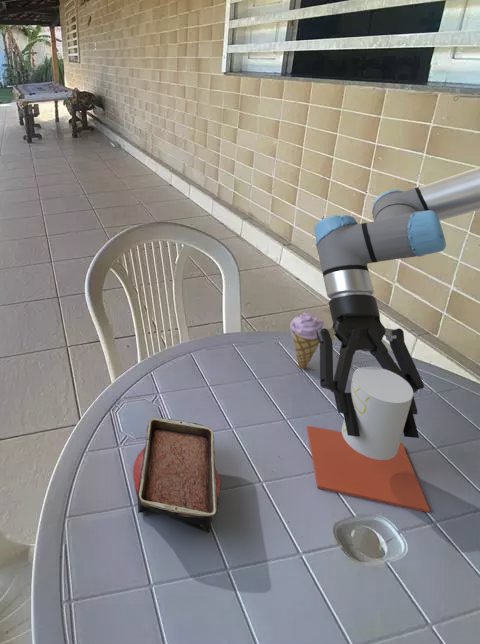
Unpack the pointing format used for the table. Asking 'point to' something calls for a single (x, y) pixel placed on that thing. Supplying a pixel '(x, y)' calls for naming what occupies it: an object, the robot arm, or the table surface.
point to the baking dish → (178, 472)
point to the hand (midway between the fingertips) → (382, 436)
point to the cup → (378, 411)
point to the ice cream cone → (305, 337)
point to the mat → (363, 472)
